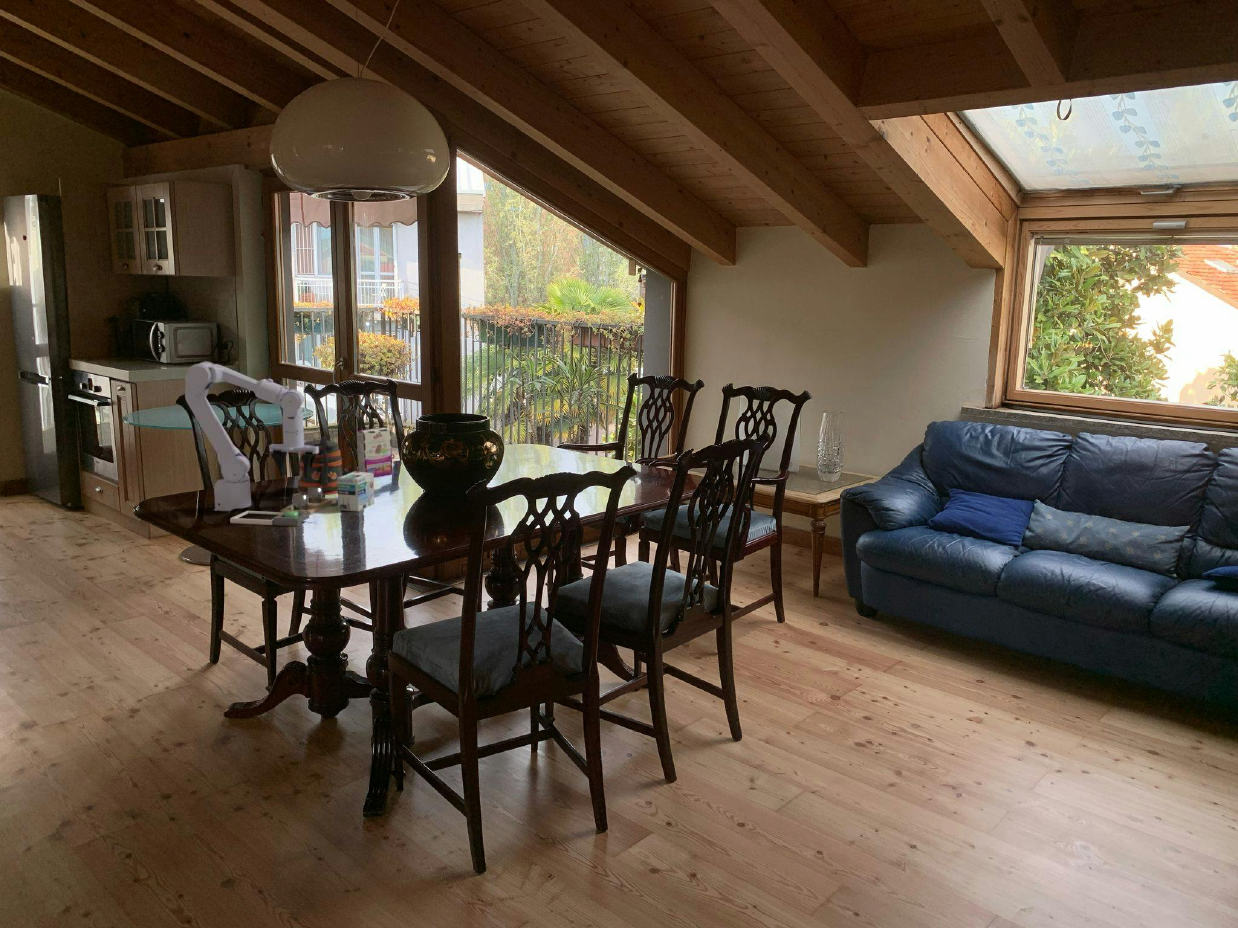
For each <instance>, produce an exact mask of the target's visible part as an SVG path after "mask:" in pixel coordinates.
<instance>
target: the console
mask: <svg viewBox="0 0 1238 928" xmlns="http://www.w3.org/2000/svg"><path fill="white" fill-rule="evenodd" d="M284 513H285V512H284ZM284 513H282V514H280V515H276V516H274V517H273V518H272V519H273V521H274V524H273V526H283V527H285V526H286V527H299V526H302V525H303V524H305V523H306V522H307V520H308V519H310V515H309V513H298V517H296V518H291V517H285V515H284Z"/></svg>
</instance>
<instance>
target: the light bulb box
mask: <svg viewBox="0 0 1238 928" xmlns="http://www.w3.org/2000/svg"><path fill="white" fill-rule="evenodd" d="M337 483H338V493H337V501H338V502H337V503H338V504H337V505H338V507H337V508H338V511H349V512H360V511H362V510H364V509H367V508H369V507H370V506H373V505H374V504H375V477H374V473H366V472H359V471H352V472H349V473H347V474H344V475H342V477H339V478H337Z"/></svg>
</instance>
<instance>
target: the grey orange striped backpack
mask: <svg viewBox="0 0 1238 928" xmlns="http://www.w3.org/2000/svg"><path fill="white" fill-rule="evenodd" d="M304 445H309V446H318V447H319V453H317V456H316V458H315V460H314V463H313V465H312V469H311V473H310V477H308V478H305V476H304V464H303V459H302V455H303V454H305V453H299V462H298V465H299V477H298V478H299V479H298V481H297V492H298V493H306V494H307V496H308V487H312V486H320V487H322V496H329V495H330V496H331V495H338V483H337V478H339V477H342V476H343V469H342V465H343V462H342V461H343V459H342V456H341V449H339V443H337V442H334V441H332V440H328V439H327V436H322V437H320V439H316V438H314V439H313V440H309V441H304Z"/></svg>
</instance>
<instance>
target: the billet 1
mask: <svg viewBox="0 0 1238 928" xmlns="http://www.w3.org/2000/svg"><path fill="white" fill-rule="evenodd" d="M292 504H293V510H308V495H307V494H306V493H299V492H298V493H294V494H292Z"/></svg>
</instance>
